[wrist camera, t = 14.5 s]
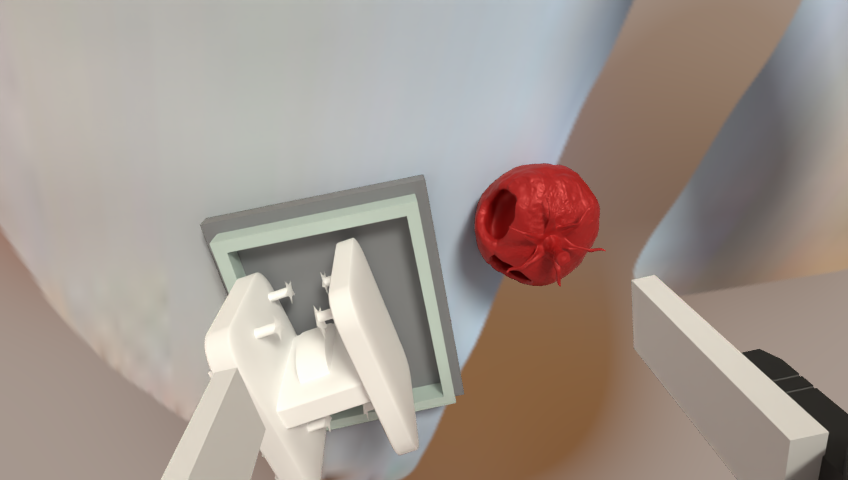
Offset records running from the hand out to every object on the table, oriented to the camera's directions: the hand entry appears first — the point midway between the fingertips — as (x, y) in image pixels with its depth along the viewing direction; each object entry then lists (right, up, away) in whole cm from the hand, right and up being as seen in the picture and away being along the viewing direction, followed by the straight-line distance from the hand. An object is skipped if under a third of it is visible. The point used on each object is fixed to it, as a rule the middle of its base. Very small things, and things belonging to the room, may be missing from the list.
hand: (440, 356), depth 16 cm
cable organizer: (-9, -3, +26) cm, 28 cm away
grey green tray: (-8, -3, +28) cm, 29 cm away
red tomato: (+8, +6, +26) cm, 28 cm away
